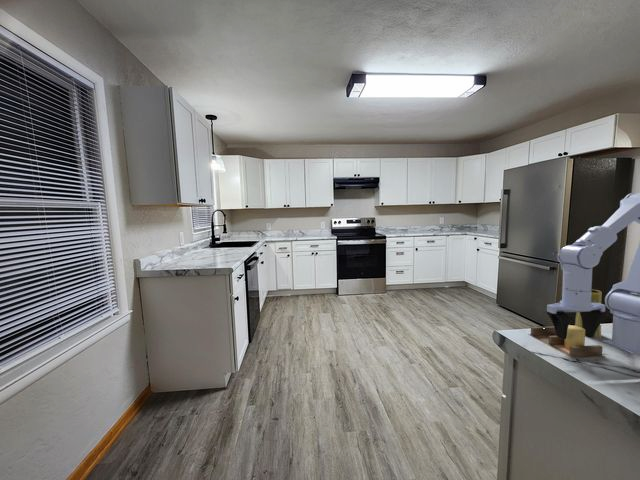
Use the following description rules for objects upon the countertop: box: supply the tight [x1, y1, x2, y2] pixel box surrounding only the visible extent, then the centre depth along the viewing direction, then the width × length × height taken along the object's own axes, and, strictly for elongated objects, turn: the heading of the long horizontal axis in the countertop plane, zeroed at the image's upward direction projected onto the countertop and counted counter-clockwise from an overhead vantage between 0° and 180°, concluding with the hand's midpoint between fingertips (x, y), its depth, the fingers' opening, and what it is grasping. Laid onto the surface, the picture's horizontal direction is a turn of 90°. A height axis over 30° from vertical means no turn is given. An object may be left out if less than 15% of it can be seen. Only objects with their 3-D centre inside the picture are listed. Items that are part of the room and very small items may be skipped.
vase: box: [574, 288, 603, 339], centre depth 83 cm, size 6×6×14 cm
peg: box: [564, 324, 586, 350], centre depth 73 cm, size 4×4×6 cm
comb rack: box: [527, 325, 606, 359], centre depth 77 cm, size 9×15×3 cm, turn 1°
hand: (574, 337), depth 73 cm, fingers open, 7 cm apart
